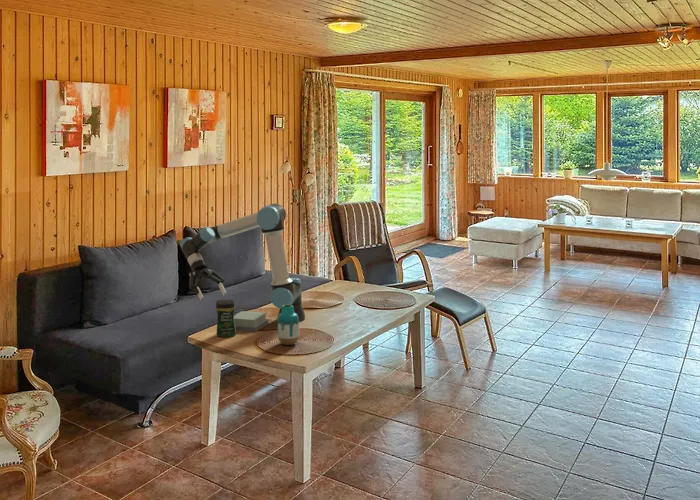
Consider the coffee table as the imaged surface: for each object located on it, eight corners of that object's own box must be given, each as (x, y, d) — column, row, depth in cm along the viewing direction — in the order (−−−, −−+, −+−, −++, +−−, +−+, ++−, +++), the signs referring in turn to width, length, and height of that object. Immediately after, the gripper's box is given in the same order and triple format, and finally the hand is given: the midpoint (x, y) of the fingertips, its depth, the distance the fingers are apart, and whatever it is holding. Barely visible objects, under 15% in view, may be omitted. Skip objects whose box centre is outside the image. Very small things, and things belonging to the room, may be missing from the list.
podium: (268, 323, 346) (267, 312, 345) (255, 331, 331) (255, 320, 330) (241, 321, 351) (240, 310, 350) (227, 329, 336) (227, 318, 335)
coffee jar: (216, 338, 322) (214, 302, 318) (217, 333, 329) (215, 298, 326) (236, 337, 323) (234, 301, 320) (236, 332, 331) (234, 297, 328)
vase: (300, 340, 317) (299, 302, 313) (299, 347, 306) (298, 308, 303) (278, 340, 316) (277, 303, 313) (276, 347, 306) (275, 308, 302)
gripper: (215, 264, 349) (231, 296, 341) (173, 271, 333) (189, 304, 324) (220, 256, 345) (236, 287, 337) (177, 262, 328) (194, 296, 320)
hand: (213, 296), depth 331 cm, fingers open, 13 cm apart
